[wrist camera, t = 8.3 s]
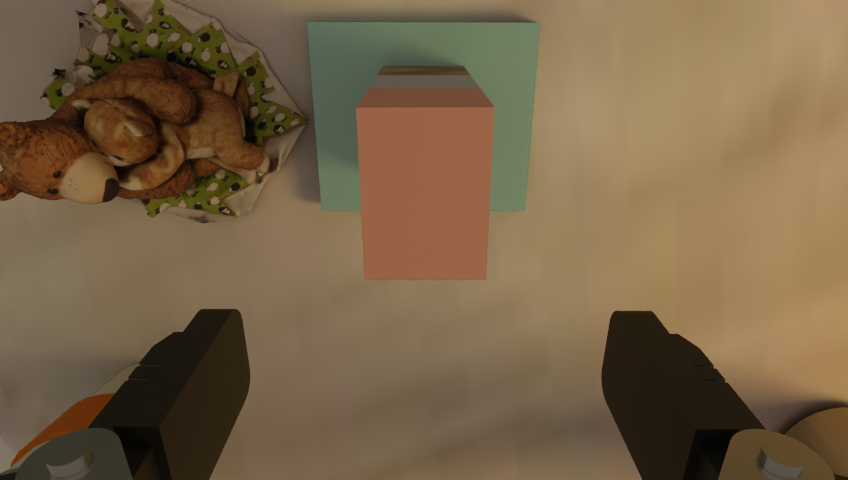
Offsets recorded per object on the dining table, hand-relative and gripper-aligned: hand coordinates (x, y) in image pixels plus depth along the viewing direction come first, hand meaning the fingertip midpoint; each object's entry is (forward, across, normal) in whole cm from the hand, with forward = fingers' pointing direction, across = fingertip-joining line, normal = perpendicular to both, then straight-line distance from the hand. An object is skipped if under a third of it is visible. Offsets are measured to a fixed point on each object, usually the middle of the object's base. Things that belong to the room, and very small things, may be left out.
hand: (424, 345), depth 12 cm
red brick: (+15, 0, 0) cm, 15 cm away
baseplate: (+26, 0, 0) cm, 26 cm away
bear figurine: (+26, +16, 0) cm, 31 cm away
